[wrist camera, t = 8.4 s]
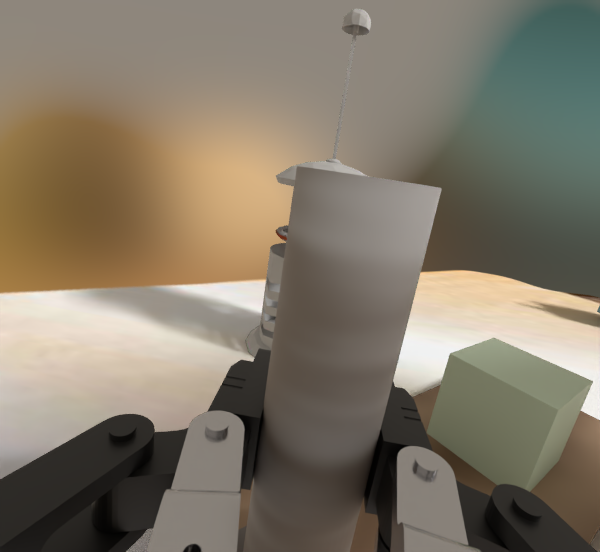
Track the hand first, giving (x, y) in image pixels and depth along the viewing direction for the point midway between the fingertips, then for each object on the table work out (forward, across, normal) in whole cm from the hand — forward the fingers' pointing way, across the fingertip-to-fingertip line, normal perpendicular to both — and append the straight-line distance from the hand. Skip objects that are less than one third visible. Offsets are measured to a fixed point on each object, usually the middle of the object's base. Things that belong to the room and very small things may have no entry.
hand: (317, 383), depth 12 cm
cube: (+7, -10, +6) cm, 14 cm away
